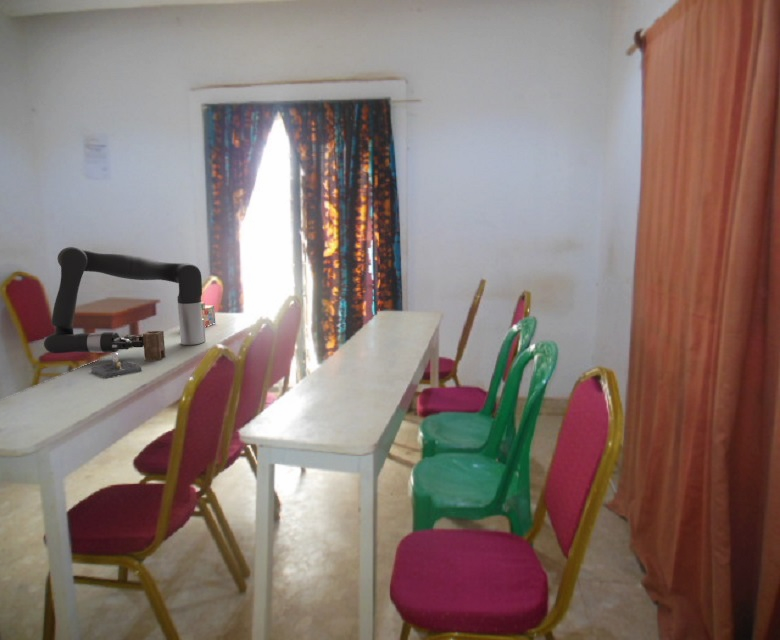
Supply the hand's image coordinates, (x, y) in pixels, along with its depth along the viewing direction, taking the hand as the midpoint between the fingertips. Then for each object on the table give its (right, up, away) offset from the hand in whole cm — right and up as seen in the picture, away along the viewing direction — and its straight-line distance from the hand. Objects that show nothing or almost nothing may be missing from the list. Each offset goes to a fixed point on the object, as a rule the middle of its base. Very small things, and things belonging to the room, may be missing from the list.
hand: (147, 341), depth 220 cm
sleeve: (+2, -6, +1) cm, 7 cm away
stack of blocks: (0, +4, +60) cm, 60 cm away
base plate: (-4, -10, -17) cm, 20 cm away
